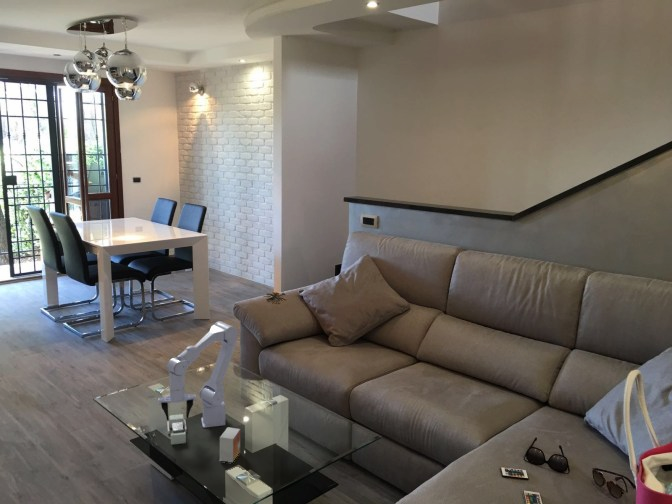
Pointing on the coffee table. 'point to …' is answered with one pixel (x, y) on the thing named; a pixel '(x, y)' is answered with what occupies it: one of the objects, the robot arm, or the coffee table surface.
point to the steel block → (177, 427)
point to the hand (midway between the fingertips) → (177, 418)
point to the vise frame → (178, 435)
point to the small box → (229, 444)
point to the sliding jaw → (176, 419)
